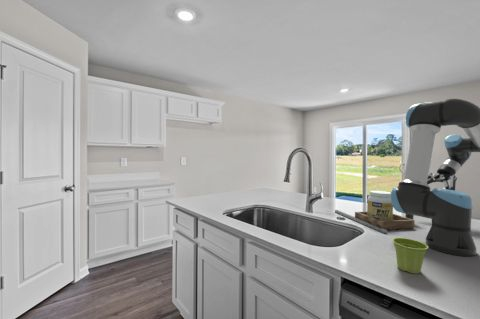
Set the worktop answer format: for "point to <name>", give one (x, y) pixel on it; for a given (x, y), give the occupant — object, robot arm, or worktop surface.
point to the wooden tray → (396, 222)
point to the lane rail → (362, 222)
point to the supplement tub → (380, 205)
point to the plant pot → (409, 254)
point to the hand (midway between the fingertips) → (425, 195)
